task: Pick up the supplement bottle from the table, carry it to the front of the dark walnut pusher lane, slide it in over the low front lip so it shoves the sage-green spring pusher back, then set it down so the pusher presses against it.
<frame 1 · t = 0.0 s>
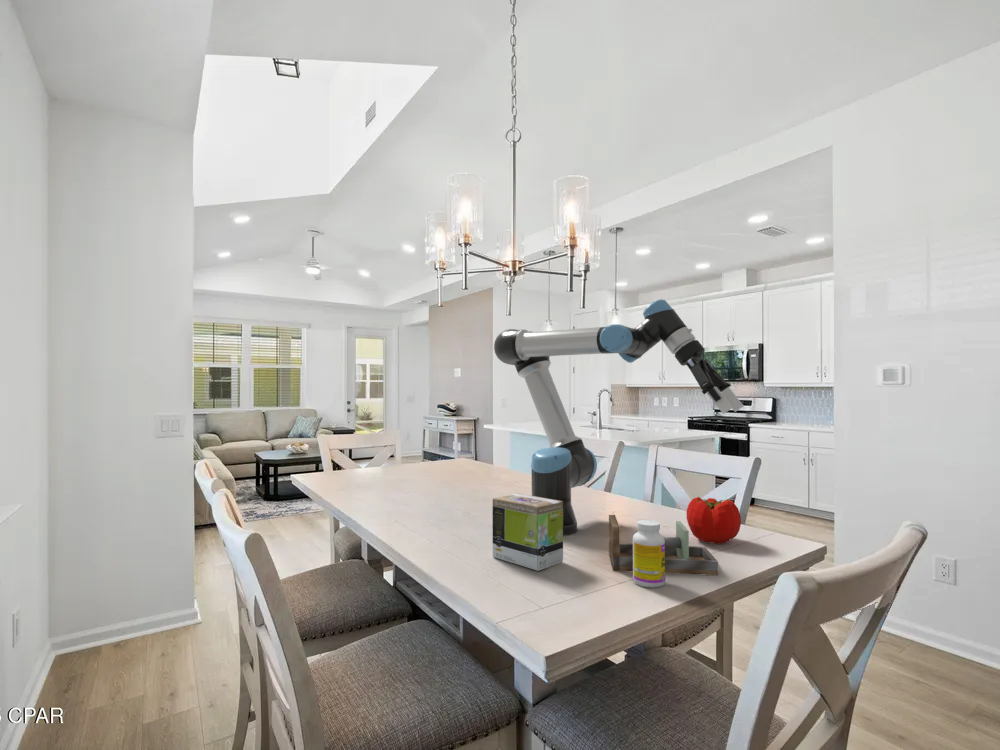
hand: (734, 410, 137), 36 cm above the table, tool tilted 35°, fingers open, 13 cm apart
pusher: (673, 542, 122), point 5 cm above the table, slide at 0.0 cm
supplement bottle: (648, 583, 111), on the table
tea box: (527, 560, 126), on the table
tomato: (712, 541, 141), on the table
lane: (660, 564, 122), on the table
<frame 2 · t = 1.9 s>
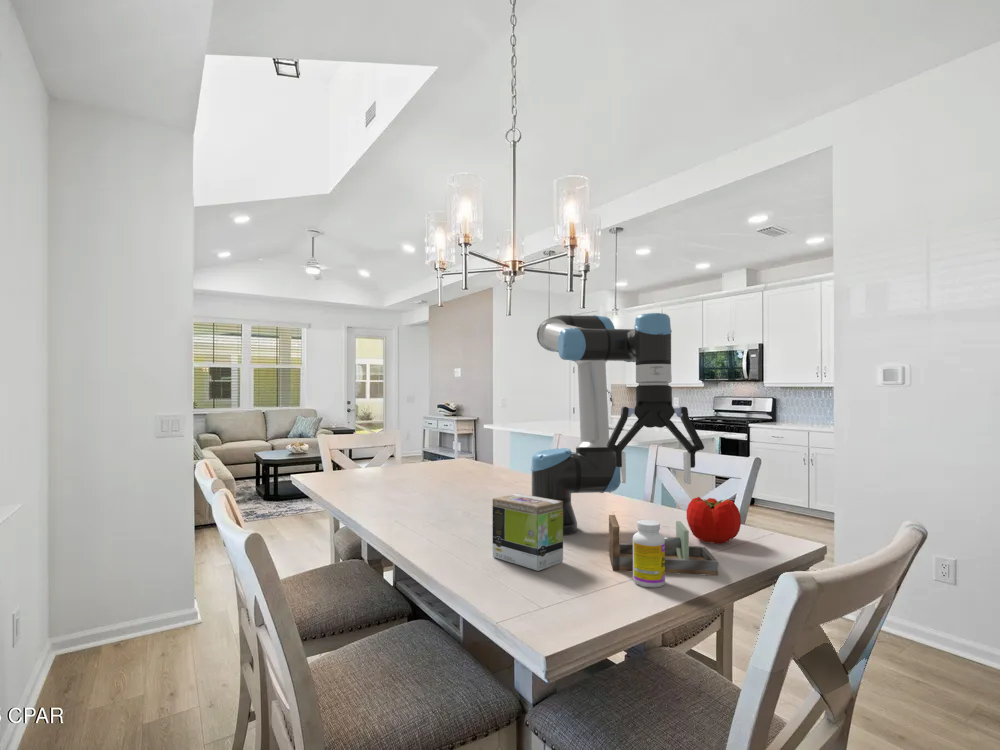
hand: (655, 482, 112), 21 cm above the table, tool pointing down, fingers open, 13 cm apart
nothing on the table moved.
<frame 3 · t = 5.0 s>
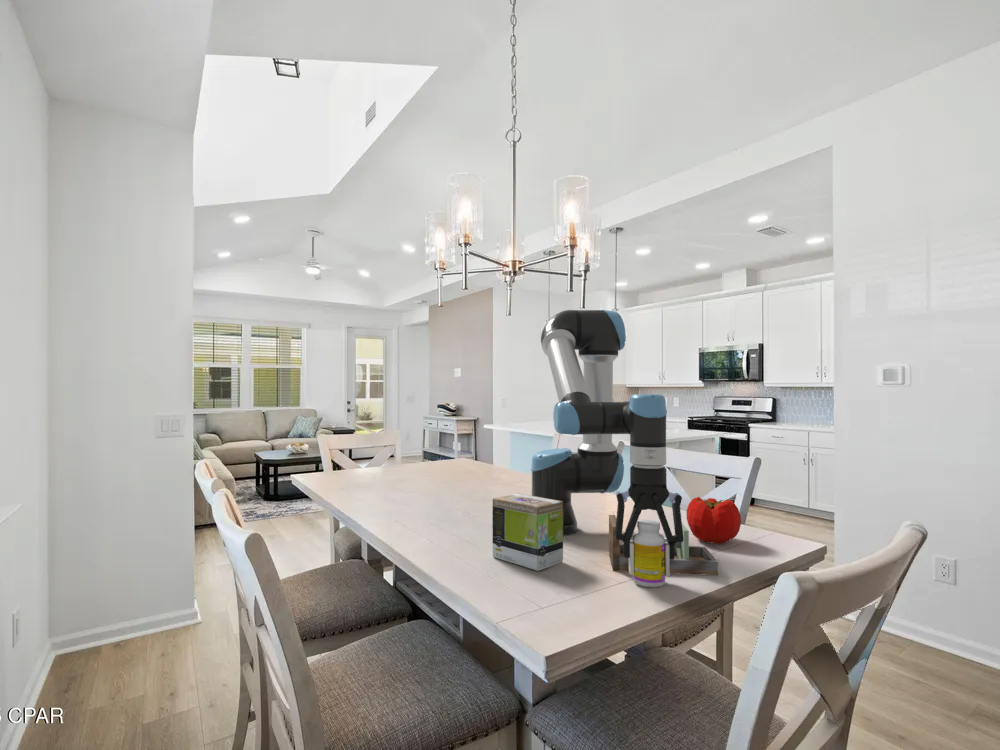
hand: (648, 573, 111), 2 cm above the table, tool pointing down, fingers closed on supplement bottle, 7 cm apart
supplement bottle: (648, 583, 111), on the table, touching gripper
everything else where it was.
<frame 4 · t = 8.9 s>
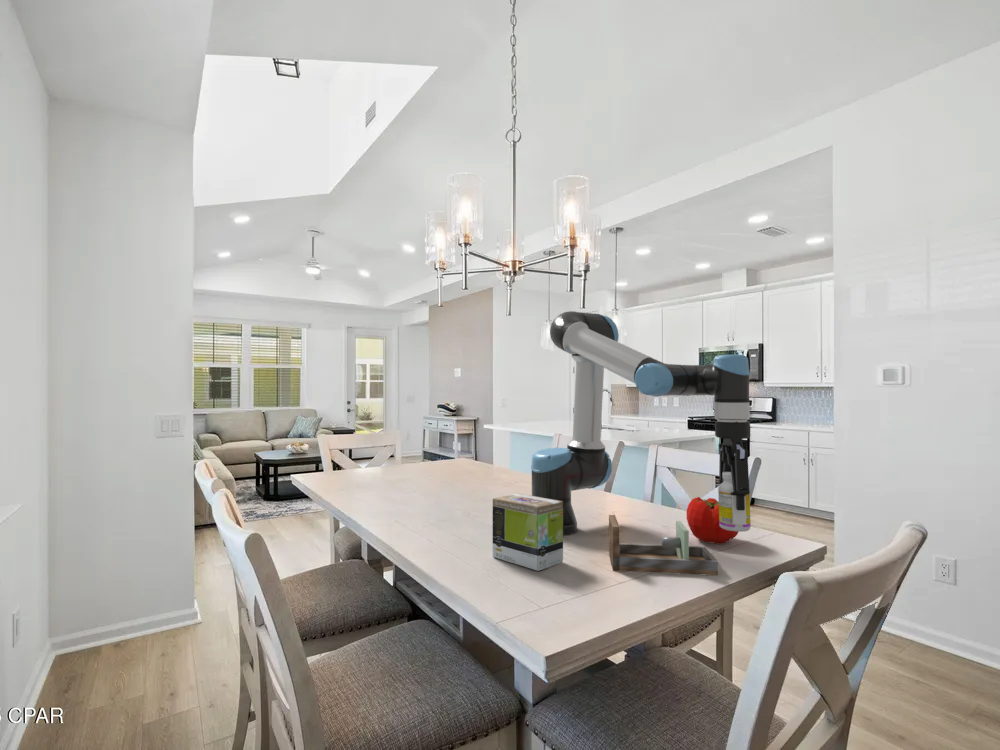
hand: (734, 519, 120), 11 cm above the table, tool pointing down, fingers closed on supplement bottle, 7 cm apart
supplement bottle: (734, 529, 120), point 9 cm above the table, touching gripper
everything else where it was.
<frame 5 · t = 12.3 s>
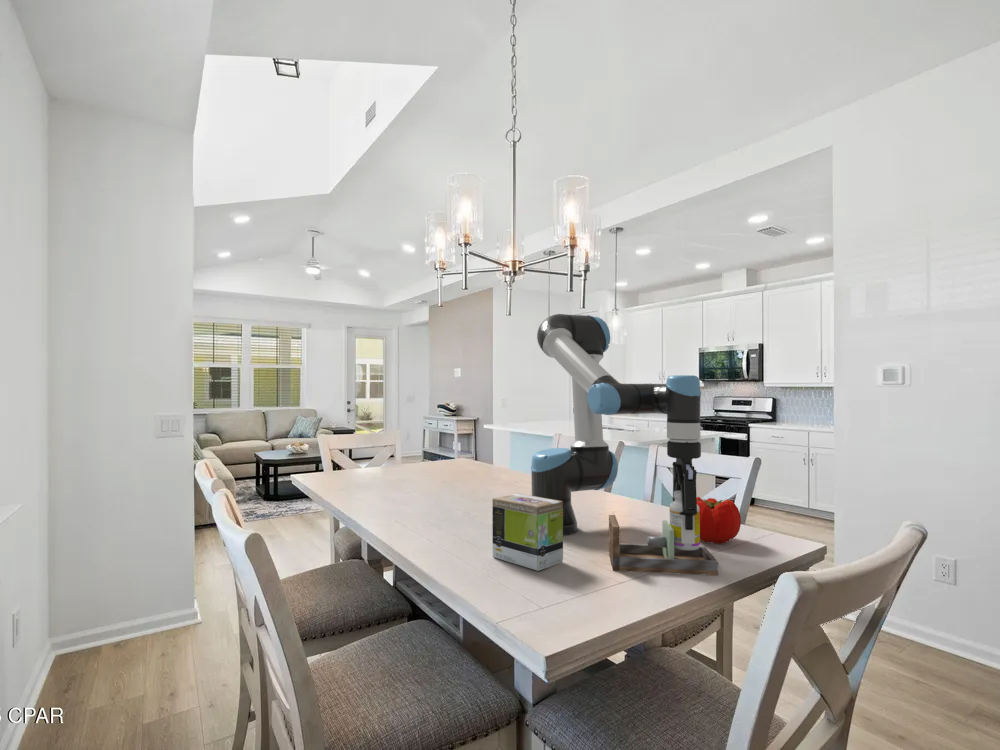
hand: (684, 538, 122), 6 cm above the table, tool pointing down, fingers closed on supplement bottle, 7 cm apart
pusher: (659, 542, 123), point 5 cm above the table, slide at 3.2 cm
supplement bottle: (684, 547, 122), point 4 cm above the table, touching gripper
everything else where it was.
when the fingers open (5 cm above the table, at t = 12.9 s): supplement bottle drops 2 cm, resting on lane, pusher.
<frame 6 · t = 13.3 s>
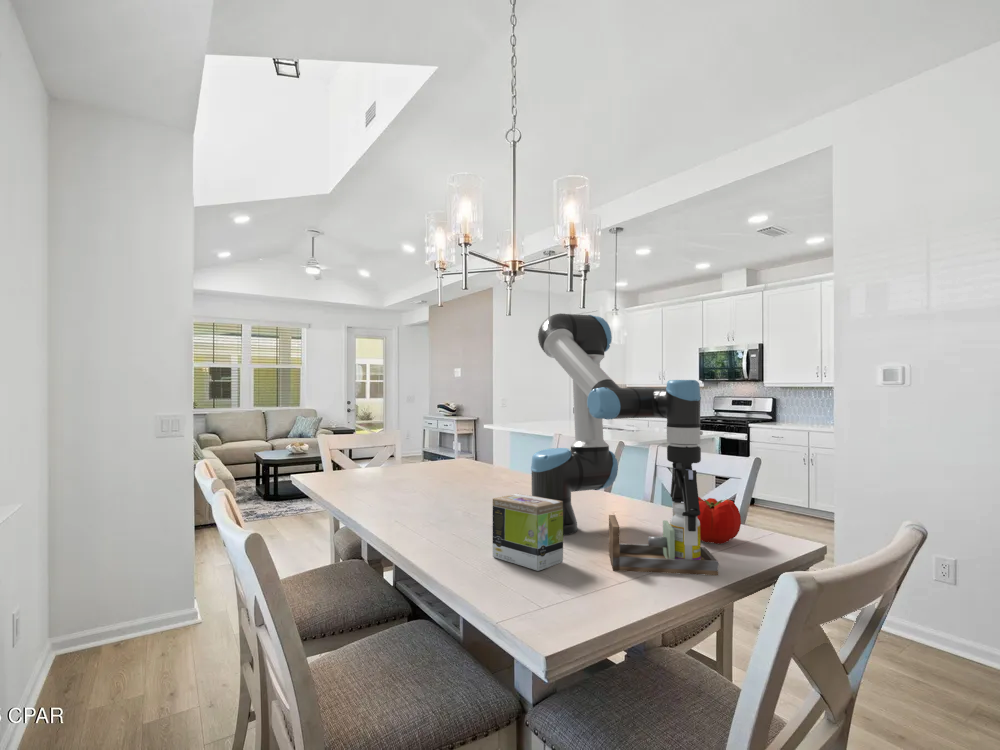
hand: (684, 536, 122), 7 cm above the table, tool pointing down, fingers open, 12 cm apart
pusher: (659, 542, 123), point 5 cm above the table, slide at 3.1 cm, touching supplement bottle
supplement bottle: (685, 562, 122), point 1 cm above the table, touching lane, pusher
everything else where it was.
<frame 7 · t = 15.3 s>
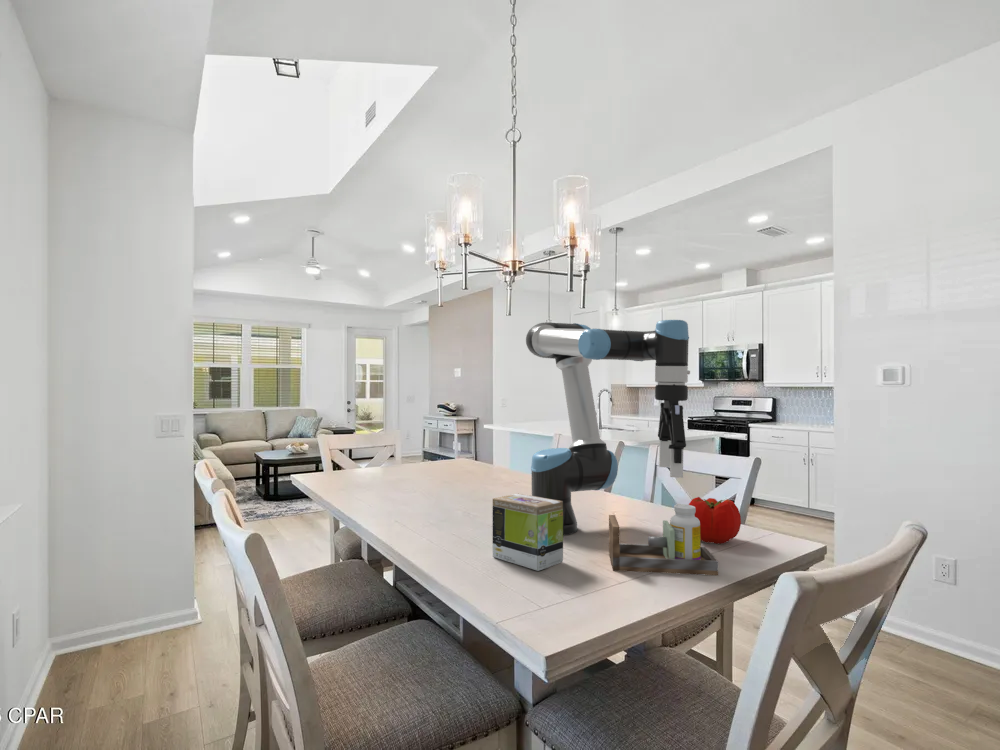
hand: (670, 471, 126), 21 cm above the table, tool pointing down, fingers open, 13 cm apart
nothing on the table moved.
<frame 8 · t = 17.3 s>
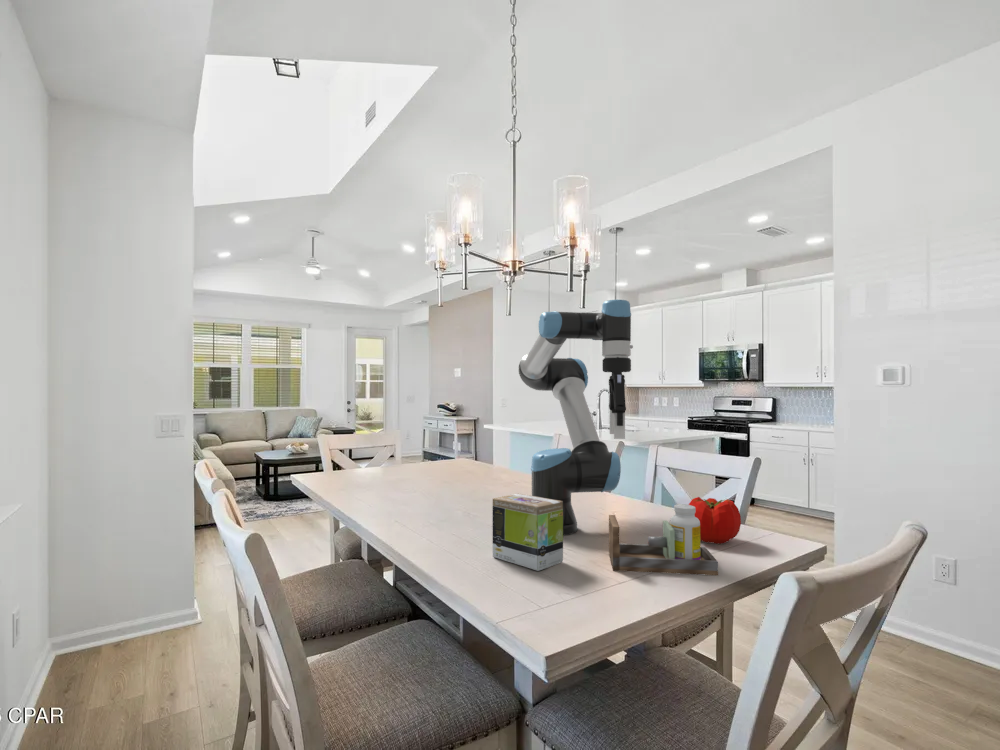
hand: (616, 436, 140), 29 cm above the table, tool pointing down, fingers open, 13 cm apart
nothing on the table moved.
at the end: supplement bottle 0.3 cm from the target spot on the lane, point 0.8 cm above the lane's base; supplement bottle tilted 0°; pusher slide at 3.1 cm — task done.
